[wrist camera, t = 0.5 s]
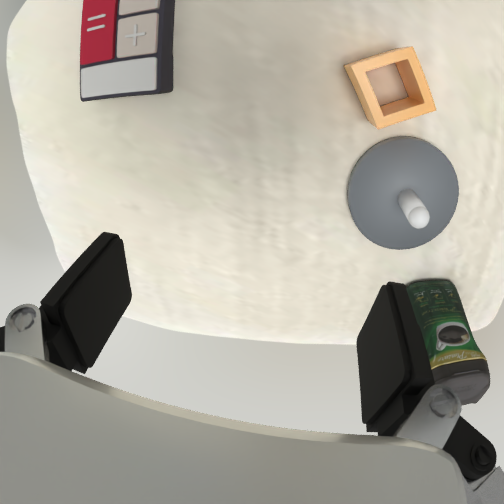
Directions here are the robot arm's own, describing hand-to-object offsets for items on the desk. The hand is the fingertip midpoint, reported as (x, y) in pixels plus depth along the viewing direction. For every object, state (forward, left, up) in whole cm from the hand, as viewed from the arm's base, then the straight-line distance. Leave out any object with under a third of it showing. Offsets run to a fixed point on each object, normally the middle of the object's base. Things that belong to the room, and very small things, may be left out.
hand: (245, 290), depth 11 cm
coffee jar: (-10, +30, -26) cm, 41 cm away
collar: (-12, -1, -26) cm, 29 cm away
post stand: (-10, +12, -26) cm, 30 cm away
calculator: (+10, -19, -27) cm, 34 cm away
